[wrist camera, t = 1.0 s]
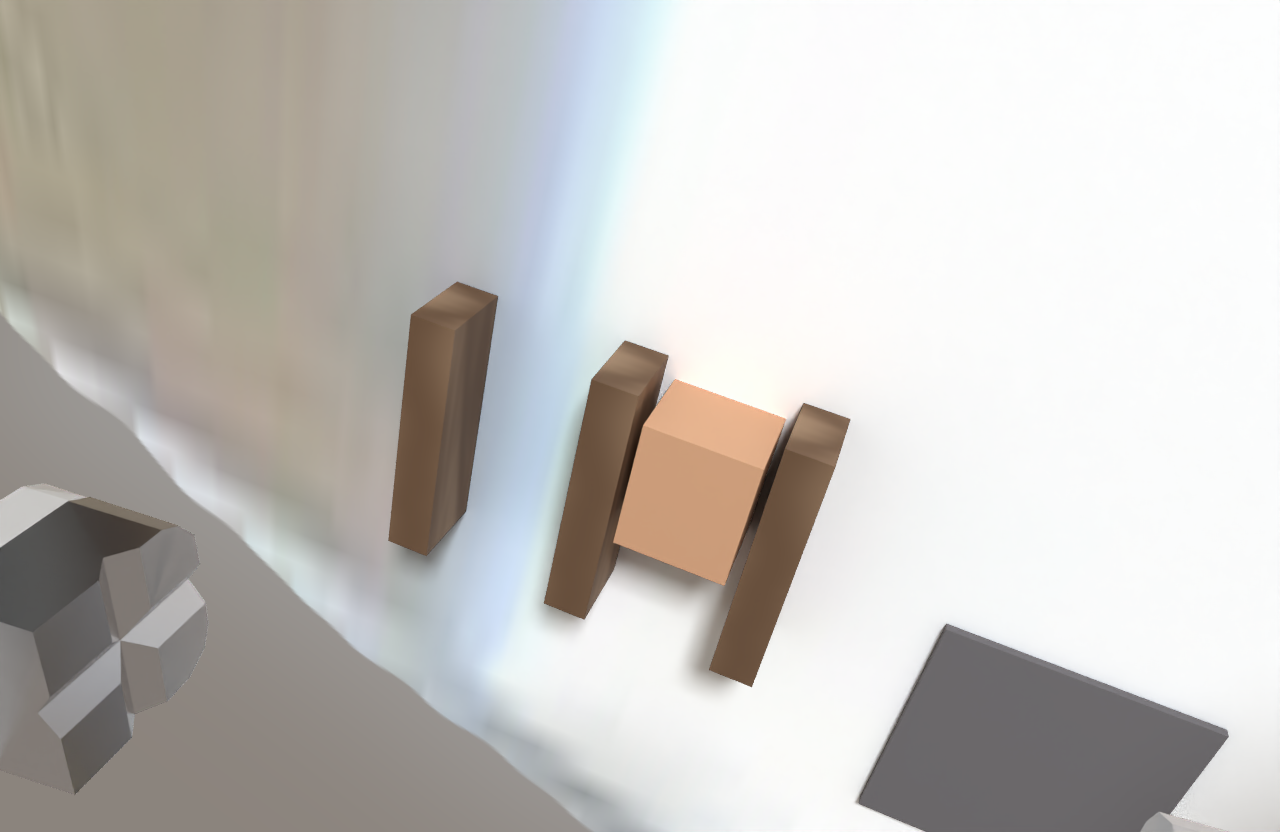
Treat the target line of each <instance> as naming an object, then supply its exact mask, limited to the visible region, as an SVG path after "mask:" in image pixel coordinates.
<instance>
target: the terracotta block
mask: <svg viewBox="0 0 1280 832" xmlns="http://www.w3.org/2000/svg"><path fill="white" fill-rule="evenodd" d="M785 420H786V419H785V418H782V417H779V416H777V415H774V414H771V413H768V412H766V411H763V410H760V409H757V408H754V407H752V406H749V405H746V404H743V403H740V402H738V401H735V400H732V399H729V398H726V397H724V396H721V395H718V394H715V393H712V392H710V391H707V390H704V389H701V388H698V387H696V386H693V385H690V384H687V383H684V382H682V381H679V380H676V379H675V380H674V381H673V383H672V384H671V386H670V387H669V389H668V390H667V391H666V393H665V394H664V396H663V397H662V399H661V400H660V402H659V403H658V405H657V406H656V407H655V409H654V410H653V412H652V413H651V415H650V416H649V418H648V419H647V421H646V422H645V423H644V425H643V428H642V432H641V436H640V440H639V443H638V447H637V451H636V455H635V459H634V463H633V467H632V471H631V475H630V479H629V482H628V486H627V490H626V494H625V498H624V502H623V506H622V510H621V514H620V517H619V521H618V525H617V529H616V533H615V537H614V541H613V543H616V544H618V545H621V546H623V547H626V548H629V549H631V550H634V551H636V552H639V553H641V554H644V555H646V556H649V557H652V558H654V559H657V560H659V561H662V562H664V563H667V564H670V565H672V566H675V567H677V568H680V569H682V570H685V571H687V572H690V573H693V574H695V575H698V576H700V577H703V578H705V579H708V580H710V581H713V582H716V583H718V584H721V585H723V586H725V583H726V581H727V578H728V576H729V574H730V571H731V569H732V566H733V564H734V562H735V559H736V557H737V554H738V552H739V550H740V547H741V545H742V542H743V540H744V538H745V535H746V533H747V530H748V528H749V525H750V522H751V519H752V516H753V513H754V510H755V508H756V505H757V502H758V499H759V496H760V493H761V490H762V487H763V484H764V481H765V478H766V476H767V473H768V470H769V467H770V464H771V461H772V458H773V455H774V452H775V449H776V446H777V444H778V441H779V438H780V435H781V432H782V429H783V426H784V423H785Z"/></svg>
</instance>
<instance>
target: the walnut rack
mask: <svg viewBox="0 0 1280 832" xmlns="http://www.w3.org/2000/svg"><path fill="white" fill-rule="evenodd" d="M497 299H498V296H496V295H493V294H490V293H488V292H485V291H482V290H479V289H476V288H473V287H470V286H468V285H465V284H462V283H459V282H456V283H455V284H453V285H452V286H450V287H449V288H448V289H446V290H445V291H443V292H442V293H441V294H439V295H438V296H436V297H435V298H434V299H432V300H431V301H429V302H428V303H427V304H425V305H424V306H422V307H421V308H420V309H418V310H417V311H415V312H414V313H413V314H411V320H410V330H409V340H408V350H407V360H406V370H405V380H404V390H403V400H402V410H401V420H400V430H399V440H398V450H397V460H396V470H395V480H394V490H393V500H392V510H391V520H390V530H389V540H388V541H391V542H393V543H396V544H398V545H400V546H403V547H405V548H408V549H410V550H413V551H415V552H418V553H420V554H423V555H425V556H427V555H428V554H429V553H430V551H431V550H432V549H433V548H434V547H435V546H436V545H437V543H438V542H439V541H440V540H441V539H442V538H443V537H444V535H445V534H446V533H447V532H448V531H449V530H450V529H451V527H452V526H453V525H454V524H455V523H456V522H457V521H458V519H459V518H460V517H461V516H462V515H463V514H464V513H465V511H466V507H467V501H468V494H469V487H470V481H471V474H472V467H473V460H474V454H475V447H476V440H477V434H478V427H479V420H480V413H481V407H482V400H483V393H484V387H485V380H486V373H487V366H488V360H489V353H490V346H491V340H492V333H493V326H494V319H495V313H496V306H497ZM667 360H668V355H665V354H662V353H659V352H656V351H654V350H651V349H648V348H645V347H642V346H639V345H636V344H633V343H631V342H628V341H624V342H623V343H622V345H621V346H620V347H619V348H618V349H617V350H616V352H615V353H614V354H613V355H612V356H611V357H610V359H609V360H608V361H607V362H606V363H605V364H604V366H603V367H602V368H601V369H600V370H599V371H598V373H597V374H596V375H595V376H594V377H593V378H592V380H591V385H590V389H589V394H588V399H587V403H586V408H585V413H584V418H583V422H582V427H581V432H580V436H579V441H578V446H577V450H576V455H575V460H574V465H573V469H572V474H571V479H570V483H569V488H568V493H567V497H566V502H565V507H564V512H563V516H562V521H561V526H560V530H559V535H558V540H557V544H556V549H555V554H554V558H553V563H552V568H551V573H550V577H549V582H548V587H547V591H546V596H545V601H544V604H547V605H549V606H552V607H554V608H557V609H559V610H562V611H564V612H567V613H569V614H572V615H574V616H577V617H579V618H582V619H585V618H586V616H587V614H588V612H589V611H590V609H591V607H592V606H593V604H594V602H595V601H596V599H597V597H598V595H599V594H600V592H601V590H602V589H603V587H604V585H605V584H606V582H607V580H608V578H609V577H610V575H611V573H612V572H613V570H614V567H615V563H616V560H617V556H618V552H619V548H620V545H618V544H616V543H613V541H614V537H615V533H616V529H617V525H618V521H619V517H620V514H621V510H622V506H623V502H624V498H625V494H626V490H627V486H628V482H629V479H630V475H631V471H632V467H633V463H634V459H635V455H636V451H637V447H638V443H639V440H640V436H641V432H642V428H643V425H644V423H645V422H646V421H647V419H648V418H649V416H650V415H651V413H652V412H653V410H654V409H655V407H656V403H657V399H658V395H659V391H660V387H661V383H662V380H663V376H664V372H665V368H666V364H667ZM849 422H850V419H848V418H845V417H842V416H840V415H837V414H834V413H831V412H828V411H825V410H822V409H820V408H817V407H814V406H811V405H808V404H805V403H804V404H803V406H802V409H801V411H800V414H799V416H798V418H797V421H796V423H795V426H794V428H793V430H792V433H791V435H790V438H789V440H788V443H787V445H786V447H785V450H784V453H783V456H782V459H781V462H780V465H779V467H778V470H777V473H776V476H775V479H774V482H773V485H772V488H771V491H770V494H769V497H768V499H767V502H766V505H765V508H764V511H763V514H762V517H761V520H760V523H759V526H758V529H757V531H756V534H755V537H754V540H753V543H752V546H751V549H750V552H749V555H748V558H747V561H746V563H745V566H744V569H743V572H742V575H741V578H740V581H739V584H738V587H737V590H736V593H735V595H734V598H733V601H732V604H731V607H730V610H729V613H728V616H727V619H726V622H725V625H724V627H723V630H722V633H721V636H720V639H719V642H718V645H717V648H716V651H715V654H714V657H713V659H712V662H711V665H710V668H709V670H711V671H713V672H715V673H718V674H720V675H723V676H725V677H728V678H730V679H733V680H735V681H738V682H740V683H743V684H745V685H748V686H750V687H752V685H753V683H754V680H755V677H756V675H757V672H758V669H759V667H760V664H761V661H762V659H763V656H764V654H765V651H766V648H767V646H768V643H769V640H770V638H771V635H772V633H773V630H774V627H775V625H776V622H777V619H778V617H779V614H780V611H781V609H782V606H783V604H784V601H785V598H786V596H787V593H788V590H789V588H790V585H791V582H792V580H793V577H794V575H795V572H796V569H797V567H798V564H799V561H800V559H801V556H802V554H803V551H804V548H805V546H806V543H807V540H808V538H809V535H810V532H811V530H812V527H813V525H814V522H815V519H816V517H817V514H818V511H819V509H820V506H821V503H822V501H823V498H824V496H825V493H826V490H827V488H828V485H829V482H830V480H831V477H832V475H833V472H834V469H835V467H836V463H837V460H838V457H839V454H840V451H841V448H842V444H843V441H844V438H845V435H846V432H847V429H848V425H849Z"/></svg>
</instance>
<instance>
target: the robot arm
mask: <svg viewBox="0 0 1280 832" xmlns="http://www.w3.org/2000/svg"><path fill="white" fill-rule="evenodd" d="M199 565H200V560H199V555H198V550H197V545H196V540H195V535H194V534H192V533H191V532H189V531H187V530H186V529H184V528H182V527H180V526H178V525H175V524H172V523H169V522H165V521H162V520H159V519H156V518H153V517H150V516H147V515H144V514H141V513H138V512H135V511H132V510H128V509H125V508H122V507H119V506H116V505H113V504H110V503H107V502H104V501H101V500H97V499H94V498H91V497H84V496H81V495H78V494H75V493H72V492H69V491H66V490H63V489H60V488H57V487H54V486H51V485H48V484H37V485H31V486H23V487H21V488H19V489H18V490H16V491H14V492H13V493H11V494H10V495H8V496H7V497H5V498H3V499H2V500H0V770H1V771H4V772H7V773H10V774H13V775H16V776H19V777H22V778H25V779H28V780H31V781H34V782H37V783H40V784H43V785H46V786H50V787H53V788H56V789H59V790H62V791H65V792H68V793H71V794H74V795H75V794H76V793H77V792H78V791H79V790H80V789H81V788H82V787H83V786H84V785H85V784H86V783H87V782H88V781H89V780H90V779H91V778H92V777H93V776H94V775H95V774H96V773H97V772H98V771H99V770H100V769H101V768H102V767H103V766H104V765H105V764H106V763H107V762H108V761H109V760H110V759H111V758H112V757H113V756H114V755H115V754H116V753H117V752H118V751H119V750H120V749H121V748H122V747H123V746H124V745H125V744H126V743H127V742H128V741H129V740H130V739H131V738H132V731H133V723H134V715H135V714H137V713H139V712H142V711H144V710H147V709H149V708H152V707H154V706H157V705H159V704H162V703H164V702H167V701H168V700H169V699H170V698H171V697H172V696H173V695H174V694H175V693H176V692H177V690H178V689H179V688H180V687H181V686H182V685H183V684H184V683H185V682H186V681H187V680H188V679H189V677H190V675H191V674H192V672H193V670H194V668H195V666H196V664H197V662H198V660H199V658H200V656H201V654H202V652H203V650H204V648H205V642H206V636H207V629H208V617H207V609H206V603H205V601H204V600H203V598H202V597H201V595H200V594H199V593H198V591H197V590H196V589H195V587H194V586H193V584H192V583H191V582H190V580H189V577H190V576H191V575H192V574H193V572H194V571H195V570H196V569H197V567H198V566H199ZM1141 832H1229V831H1225V830H1222V829H1218V828H1215V827H1211V826H1207V825H1204V824H1200V823H1197V822H1193V821H1190V820H1186V819H1183V818H1179V817H1176V816H1172V815H1169V814H1165V813H1162V812H1158V813H1156V814H1155V815H1154V816H1153V817H1151V818H1150V819H1149V820H1148V821H1146V823H1145V824H1144V826H1143V828H1142V830H1141Z"/></svg>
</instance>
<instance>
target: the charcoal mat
mask: <svg viewBox="0 0 1280 832" xmlns="http://www.w3.org/2000/svg"><path fill="white" fill-rule="evenodd" d="M1228 737H1229V736H1228V732H1227V730H1226V729H1223V728H1220V727H1218V726H1215V725H1212V724H1210V723H1207V722H1204V721H1202V720H1199V719H1197V718H1194V717H1191V716H1189V715H1186V714H1183V713H1181V712H1178V711H1175V710H1173V709H1170V708H1167V707H1165V706H1162V705H1160V704H1157V703H1154V702H1152V701H1149V700H1146V699H1144V698H1141V697H1138V696H1136V695H1133V694H1131V693H1128V692H1125V691H1123V690H1120V689H1117V688H1115V687H1112V686H1109V685H1107V684H1104V683H1101V682H1099V681H1096V680H1094V679H1091V678H1088V677H1086V676H1083V675H1080V674H1078V673H1075V672H1072V671H1070V670H1067V669H1065V668H1062V667H1059V666H1057V665H1054V664H1051V663H1049V662H1046V661H1043V660H1041V659H1038V658H1035V657H1033V656H1030V655H1028V654H1025V653H1022V652H1020V651H1017V650H1014V649H1012V648H1009V647H1006V646H1004V645H1001V644H999V643H996V642H993V641H991V640H988V639H985V638H983V637H980V636H977V635H975V634H972V633H969V632H967V631H964V630H962V629H959V628H956V627H954V626H951V625H948V624H946V626H945V628H944V630H943V632H942V634H941V636H940V638H939V640H938V642H937V644H936V646H935V648H934V650H933V652H932V654H931V656H930V658H929V660H928V662H927V664H926V666H925V668H924V670H923V672H922V674H921V676H920V678H919V680H918V682H917V684H916V686H915V688H914V690H913V692H912V694H911V696H910V698H909V700H908V702H907V704H906V706H905V708H904V710H903V712H902V714H901V716H900V718H899V720H898V722H897V724H896V726H895V728H894V730H893V732H892V734H891V736H890V738H889V740H888V742H887V744H886V746H885V748H884V750H883V752H882V754H881V756H880V758H879V760H878V762H877V764H876V766H875V768H874V770H873V772H872V774H871V776H870V778H869V780H868V782H867V784H866V786H865V788H864V790H863V792H862V794H861V796H860V799H859V804H861V805H863V806H866V807H868V808H871V809H873V810H875V811H878V812H880V813H883V814H885V815H887V816H890V817H892V818H895V819H897V820H899V821H902V822H904V823H907V824H909V825H911V826H914V827H916V828H919V829H921V830H923V831H926V832H1141V830H1142V828H1143V826H1144V824H1145V823H1146V821H1148V820H1149V819H1150V818H1151V817H1153V816H1154V815H1155V814H1156V813H1158V812H1162V813H1165V814H1169V815H1170V813H1171V812H1172V811H1173V809H1174V808H1175V807H1176V805H1177V804H1178V803H1179V801H1180V800H1181V799H1182V797H1183V796H1184V795H1185V794H1186V792H1187V791H1188V790H1189V788H1190V787H1191V786H1192V784H1193V783H1194V782H1195V780H1196V779H1197V778H1198V776H1199V775H1200V774H1201V773H1202V771H1203V770H1204V769H1205V767H1206V766H1207V765H1208V763H1209V762H1210V761H1211V759H1212V758H1213V757H1214V755H1215V754H1216V753H1217V751H1218V750H1219V749H1220V748H1221V746H1222V745H1223V744H1224V742H1225V741H1226V740H1227V738H1228Z"/></svg>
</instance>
